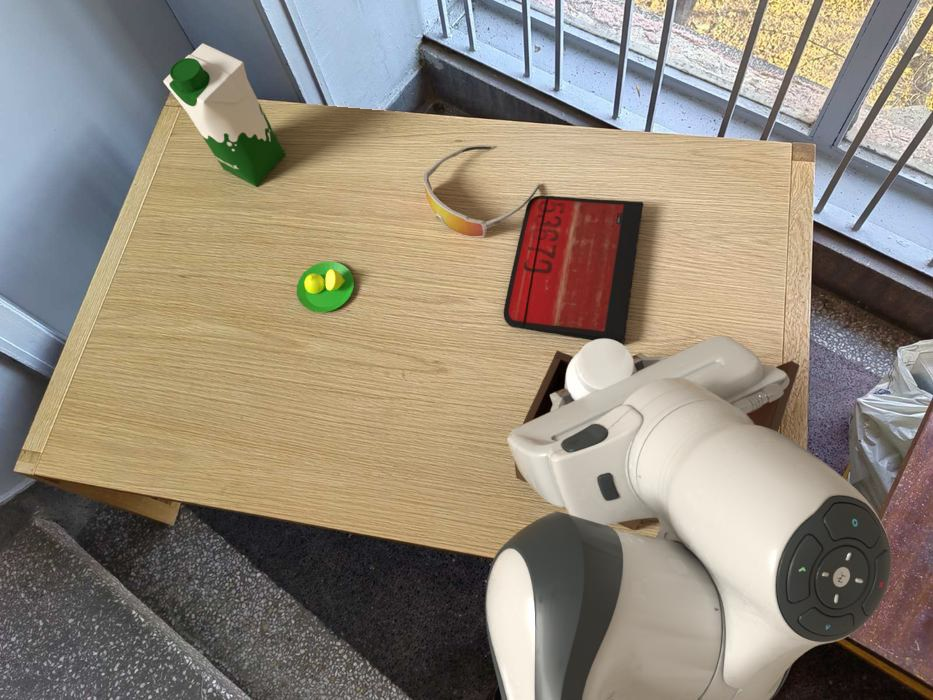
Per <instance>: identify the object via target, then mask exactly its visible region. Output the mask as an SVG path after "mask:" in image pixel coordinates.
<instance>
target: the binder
mask: <svg viewBox="0 0 933 700" xmlns="http://www.w3.org/2000/svg"><path fill="white" fill-rule="evenodd" d="M643 208H644V201H632V200H615V199H597V198H583V197H569V196H553V195H536V196H533V197H532V198H531V199H530V200H529V201H528V202H527V204H526V208H525V211H524V217H523V220H522V223H521V229H520V231H519V232H520V233H519V237H518V242H517V246H516V249H515V255H514V260H513V264H512V269H511V273H510V277H509V281H508V287H507V292H506V296H505V302H504V307H503V319H504V321H505V323H506V324H507V325H509V326H510V327H512V328H516V329H521V330H527V331H532V332H538V333H545V334H552V335H559V336H565V337H569V338H570V337H571V338H575V339H582V340H589V341H593V340H596V339H612V340H615V341H618V342H619V343H621V344H623V345H625V343H626V334H627V324H628V317H629V309H630V303H631V296H632V287H633V282H634V281H633V280H634V274H635V265H636V257H637V251H638V242H639V237H640V229H641V223H642V214H643Z"/></svg>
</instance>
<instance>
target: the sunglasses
mask: <svg viewBox="0 0 933 700" xmlns="http://www.w3.org/2000/svg"><path fill="white" fill-rule="evenodd" d="M493 148H494V146H493V145H483V144H482V145H471V146H466V147H465V146H464V147H461V148H459V149H458V150H455V151H453V152H452V153H449V154H447V155H446V156H444V157H443V158H441V159H439V160H437V161H435V163H433V164H432V165H431V166H430V167H429V168H428V169H427V170H426V171H424V173H423V185H424V190H425V194H426V195H425V196H426V199H427V202H428V204H429V207H430V208H431V211H432V213H433V215H434V217H435V218H436V219H438V218H439V219H440V221H441V223H443V225H444V226H445V227H446V228H447V229H448V230H450V231H451V232H453V233H454V234H456V235H460V236H463V237H467V238H473V239H479V238H480V239H481V238H485V237H486V236H487V233H488V229H489V228H491V227H494V226H497V225H499V224H501V223H503V222H504V221H505V220H506V219H508V218H510V217H511V216H513V215H514V214H516V213H517V212H519V211H520V210H522V209H523V208H524V207H525V206H526V205H527V204H528V202H529V201H530V200H531V199H532V198H534V196H535V195H536V193H537V192H538V190H539V187H540V184H541V183H540V182H538V183H537V184H536V186H535V188H534V189H533V191H532V192H531V193H530V194H529V196H527V198H526V199H525V200H524V201H522V203H521V204H519V205H518V206H517V207H515V209H513V210H511V211H509V212H507V213H505V214H502V215H500V216H498V217H496V218H493V219H489V220H487V221H484V220H480V219H476V218H471V217H469V216H467V215H466V214H464V213H463V214H462V213H460V212H458V211H456V210H454V209H452V208H450V207H449V206H448V205H446V204H445V203H444V202H442V201H441V200H440V199H439V198H438V197H437V196H436V195H435V193H434V192H433V188H432V185H431V182H430V180H429V178H430V177H431V175H433V174H434V173H435V172H436V171H437V170H438V169H439V167H440V166H441V165H442V164H443V163H444V162H446V161H447V160H450V159H452V158H455V157H457V156H458V155H460V154H463V153H465V152H469V151H475V150H476V151H477V150H479V151H480V150H493Z"/></svg>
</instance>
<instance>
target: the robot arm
mask: <svg viewBox="0 0 933 700" xmlns="http://www.w3.org/2000/svg"><path fill="white" fill-rule="evenodd" d="M632 357H633V361H634V365H635V368H636V370H637V372H635V373H633V374H632V375H631V376H630V377H628V378H626V379H624V380H621V381H619V382H617V383H615V384H613V385H611V386H608V387H606V388H604V389H601V390H596V391H594V392H592V393H590V394H588V395H586V396H583V397H581V398H579V399H577V400H575V401H573V398H572V396H571V393H570V392H568V391H567V390H566V388H563V389H561V390H559V391H557V392H554V393H552V394H550V397H551V400H552V403H553V406H552V408H551V412H549V413H547V414H545V415H543V416H540V417H538V418H536V419H534V420H532V421H530V422H528V423H525V424H523V423H522V424H523V425H522V424H521V425H519V426H516V427H515V428H513V429H512V430H511V431H510V432H509V435H508V436H507V439H506V441H507V445H508V448H509V451H510V454H511V455H512V458H513V461H514V460H515V462H514V464H515V463H516V465H517V467H518V469H519V471H520V473H521V474H522V476H523V477H524V478H525V480H526V481H527V482H528V483H527V482H526V483H527V484H528V485H529V486H530V487H531V488H532V489H533V490H534V491H535V492H536V493H537V495H539V496H540V497H541V498H542V499H543V500H544V501H546V502H547V503H549V504H550V505H552V506H555V507H559V508H565V510H566V512H567V513H566V512H562V511H554V512H550V513H549V514H546V515H544V516H542V517H540V518H538V519H535V520H534V521H533V522H531V523H529V524H528V525H526V526H524V527H523V528H522V529H520V530H519V531H518V532H517V533H515V534H514V535H513V536H512V537H511V538H510V539H509V540H507V541H506V542H505V543H504V544H503V545H502V546H501V548H499V550H498V551H497V553H496V554H495V555H494V557H493V560H492V562H491V565H490V569H489V571H488V575H487V580H486V587H485V596H484V613H485V624H486V635H487V639H488V646H489V650H490V655H491V659H492V663H493V667H494V671H495V676H496V679H497V684H498V688H499V693H500V697H501V700H773V699H774V698H775V697H776V695H778V693H779V691H780V689H782V686H783V685H784V683H785V681H786V679H787V677H788V675H789V673H790V670H791V668H792V666H793V664H794V663H795V661H797V660H798V659H799V658H800V657H801V656H803V655H804V654H805V653H806V652H808V651H811V649H813V648H815V647H818V646H821V645H826V644H830V643H835V642H839V641H841V640H843V639H846V638H847V637H849V636H850V635H852V634H854V633H855V632H856V631H859V629H860V628H862V627H863V626H864V625H865V624H867V622H868V621H869V620H870V618H871V617H872V616H873V615H874V613H875V612H876V610H877V609H878V608H879V606H880V604H881V602H882V600H883V599H884V596H885V594H886V591H887V588H888V586H889V583H890V577H891V574H892V573H891V572H892V549H891V544H890V540H889V536H888V534H887V530H886V529H885V527H884V524H883V522H882V521H881V519H880V517H879V515H878V514H877V511H875V509H874V508H873V506H872V505H871V504H870V502H869V501H868V500H867V499H866V498H865V497H864V496H863V494H862V493H861V492H860V491H859V490H858V489H857V488H855V487H854V485H852V484H851V483H850V482H849V481H848V480H847V479H846V478H845V477H843V476H842V475H840V474H839V473H838V472H837V471H835V469H834V468H832V467H830V465H828V464H827V463H826V462H824V461H823V460H821V459H820V458H819V457H817V456H815V454H813V453H812V452H810V451H808V450H807V449H805V448H804V447H803V446H801V445H799V444H798V443H797V442H795V441H793V440H791V439H790V438H789V437H787V436H786V435H783V434H782V433H780V432H779V431H778V432H777V431H774V430H772V429H769V428H766V427H763V426H758V425H755V424H754V422H753V421H752V420H751V419H750V418H749V417H748V416H747V415H746V414H748V413H750V412H752V411H754V410H756V409H758V408H760V407H761V406H762V405H764V404H765V403H770V402H773V401H775V400H777V399H778V398H780V397H781V396H782V395H783V393H784V392H783V390H784V389H785V388H786V387H787V386H788V385H789V377H788V376H787V374H786V373H785V372H784V371H782V370H780V369H778V368H776V366H773V365H770V364H767V363H766V364H764V363H762V360H761V359H760V358H759V356H757V354H755V353H754V352H753V351H752V350H751V349H749V348H748V347H747V346H745V345H744V344H742V343H741V342H739V341H738V340H736V339H734V338H732V337H729V336H725V335H723V336H721V335H719V336H711V337H708V338H706V339H704V340H702V341H700V342H698V343H696V344H693V345H691V346H689V347H687V348H685V349H683V350H680V351H678V352H676V353H673V354H671V355H670V356H668V355H666V356H665V355H664V356H663V355H662V356H660V355H659V356H647V355H645V354H643V353H642V352H639V353H637V354H634V355H632ZM572 401H573V402H572ZM637 519H642V520H644V519H657V520H658V523H659V529H658V533H657V534H656V536H655V537H654V536H648V535H644V534H640V533H639V534H638V533H634V532H627V531H622V530H617V529H614V528H613V527H611V525H614V524H618V523H620V522H625V521H630V520H637Z"/></svg>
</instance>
